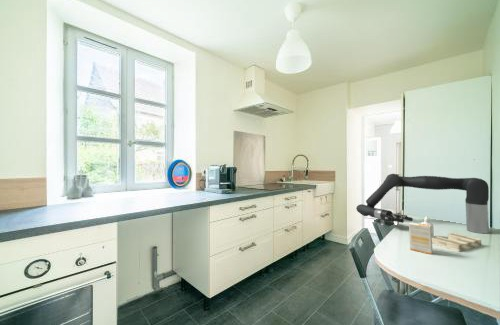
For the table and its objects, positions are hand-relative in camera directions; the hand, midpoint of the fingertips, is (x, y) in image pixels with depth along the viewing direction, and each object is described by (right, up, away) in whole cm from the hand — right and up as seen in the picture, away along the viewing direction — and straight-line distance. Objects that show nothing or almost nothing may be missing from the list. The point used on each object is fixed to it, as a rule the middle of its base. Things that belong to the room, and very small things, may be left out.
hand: (407, 220), depth 128 cm
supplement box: (-16, -7, -29) cm, 34 cm away
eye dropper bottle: (+4, -7, -10) cm, 13 cm away
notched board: (+8, -6, -22) cm, 24 cm away
